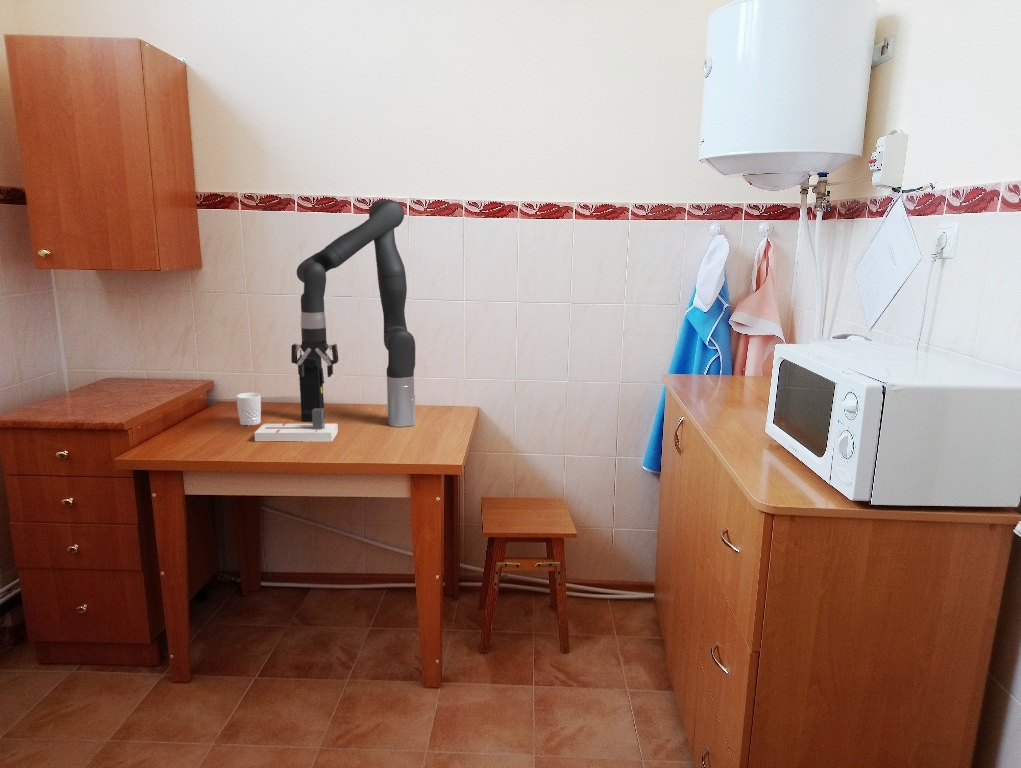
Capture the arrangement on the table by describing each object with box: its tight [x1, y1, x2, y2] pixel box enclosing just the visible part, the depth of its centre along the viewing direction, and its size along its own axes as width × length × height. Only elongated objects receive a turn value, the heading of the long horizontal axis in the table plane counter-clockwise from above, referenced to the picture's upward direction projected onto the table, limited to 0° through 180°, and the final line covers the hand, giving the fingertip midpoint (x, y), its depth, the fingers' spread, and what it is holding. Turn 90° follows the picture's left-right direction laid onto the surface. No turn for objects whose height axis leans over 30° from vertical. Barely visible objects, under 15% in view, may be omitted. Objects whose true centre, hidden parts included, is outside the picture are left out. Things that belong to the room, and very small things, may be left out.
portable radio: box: [297, 349, 326, 423], centre depth 240 cm, size 8×6×25 cm
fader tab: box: [311, 407, 326, 429], centre depth 223 cm, size 3×4×6 cm
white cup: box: [235, 392, 262, 427], centre depth 237 cm, size 8×8×10 cm
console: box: [254, 422, 339, 443], centre depth 223 cm, size 24×10×3 cm, turn 93°
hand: (315, 376), depth 219 cm, fingers open, 8 cm apart
